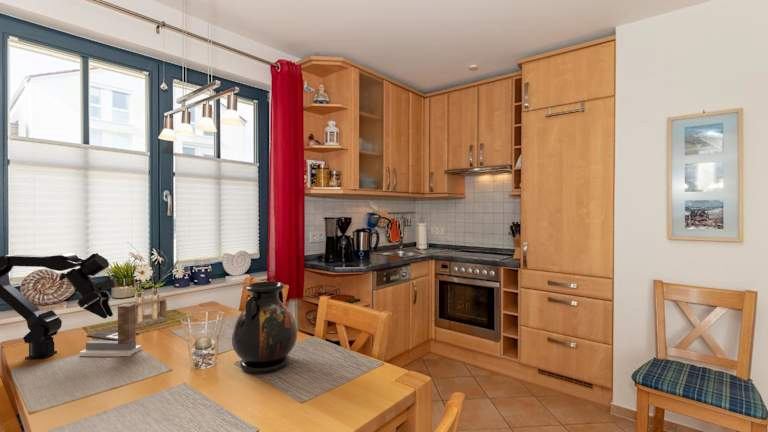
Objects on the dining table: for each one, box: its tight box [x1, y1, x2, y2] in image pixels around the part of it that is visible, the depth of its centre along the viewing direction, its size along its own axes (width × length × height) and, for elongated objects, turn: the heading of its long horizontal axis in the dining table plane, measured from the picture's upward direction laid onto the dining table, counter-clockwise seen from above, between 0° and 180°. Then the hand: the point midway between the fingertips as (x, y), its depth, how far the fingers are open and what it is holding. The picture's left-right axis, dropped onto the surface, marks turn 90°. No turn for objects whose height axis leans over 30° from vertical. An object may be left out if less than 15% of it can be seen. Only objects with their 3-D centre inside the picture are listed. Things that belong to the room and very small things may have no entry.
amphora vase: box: [231, 281, 298, 375], centre depth 129 cm, size 22×22×28 cm
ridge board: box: [79, 340, 142, 357], centre depth 139 cm, size 18×7×4 cm, turn 89°
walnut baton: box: [117, 302, 137, 344], centre depth 139 cm, size 4×4×14 cm
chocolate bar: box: [86, 328, 140, 341], centre depth 158 cm, size 9×1×18 cm
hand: (109, 316), depth 139 cm, fingers open, 9 cm apart
